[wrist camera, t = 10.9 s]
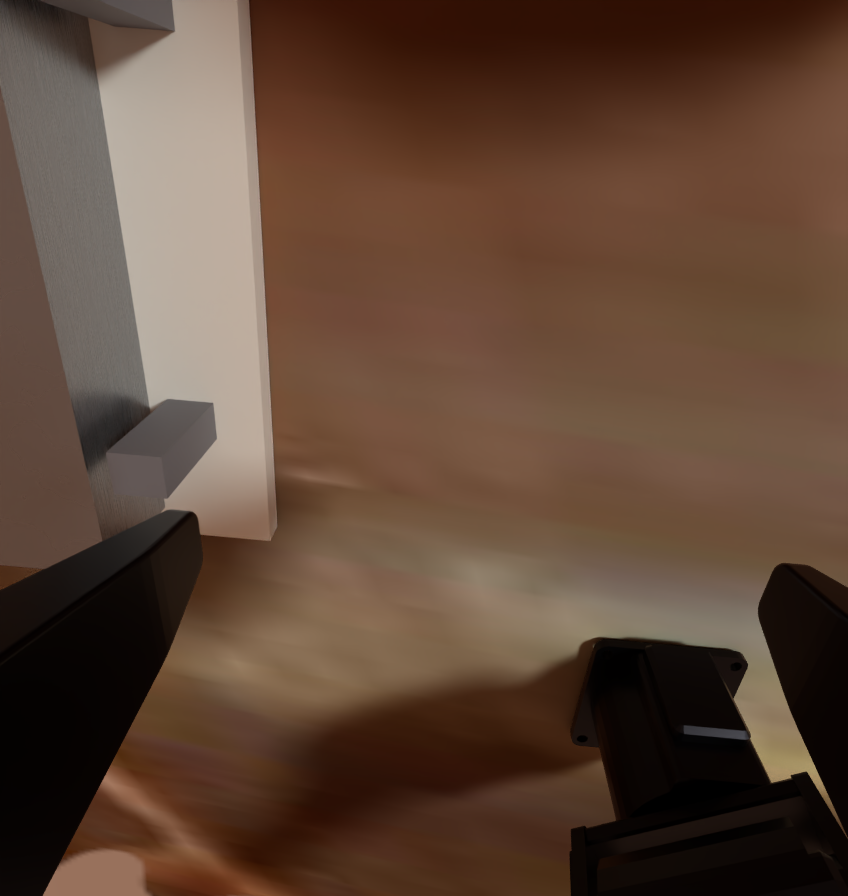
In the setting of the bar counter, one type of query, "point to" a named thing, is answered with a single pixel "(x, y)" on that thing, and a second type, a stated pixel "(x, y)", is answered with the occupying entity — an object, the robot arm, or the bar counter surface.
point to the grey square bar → (60, 298)
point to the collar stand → (190, 254)
